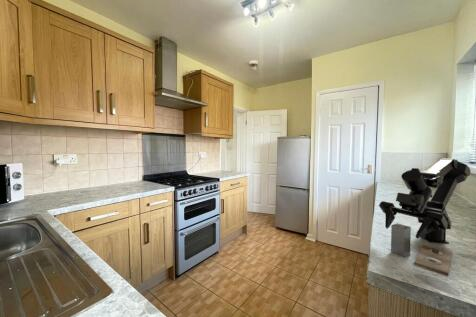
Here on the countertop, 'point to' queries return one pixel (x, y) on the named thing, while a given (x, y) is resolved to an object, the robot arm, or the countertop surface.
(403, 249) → the block
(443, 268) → the mounting board
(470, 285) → the countertop surface
